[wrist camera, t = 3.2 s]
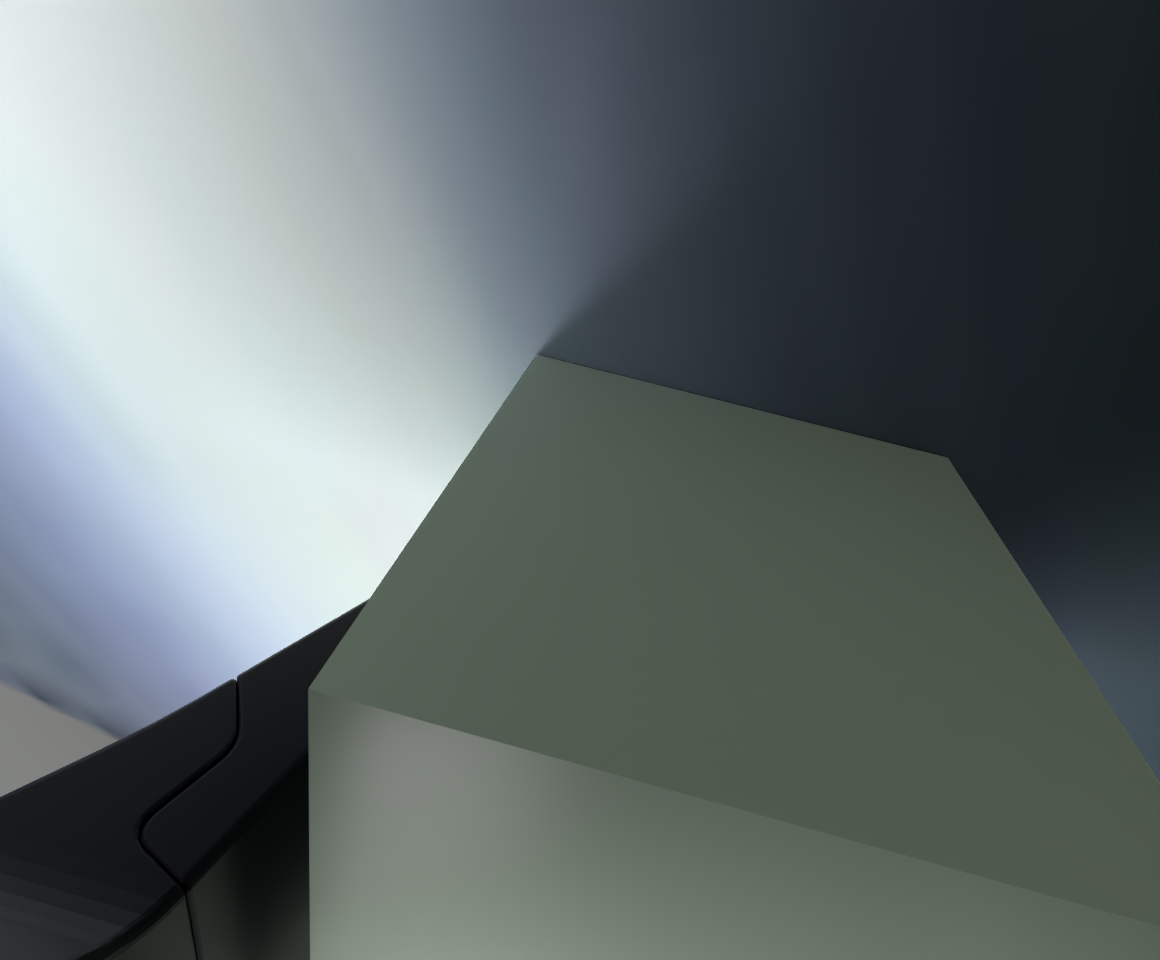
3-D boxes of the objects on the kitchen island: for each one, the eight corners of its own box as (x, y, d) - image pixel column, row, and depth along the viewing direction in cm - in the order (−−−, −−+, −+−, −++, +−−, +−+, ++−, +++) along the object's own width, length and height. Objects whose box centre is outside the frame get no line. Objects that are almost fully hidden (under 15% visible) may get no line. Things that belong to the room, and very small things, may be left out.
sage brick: (948, 457, 9) (1275, 960, 4) (797, 736, 12) (865, 1244, 6) (537, 354, 9) (307, 689, 4) (485, 651, 12) (311, 1076, 7)
